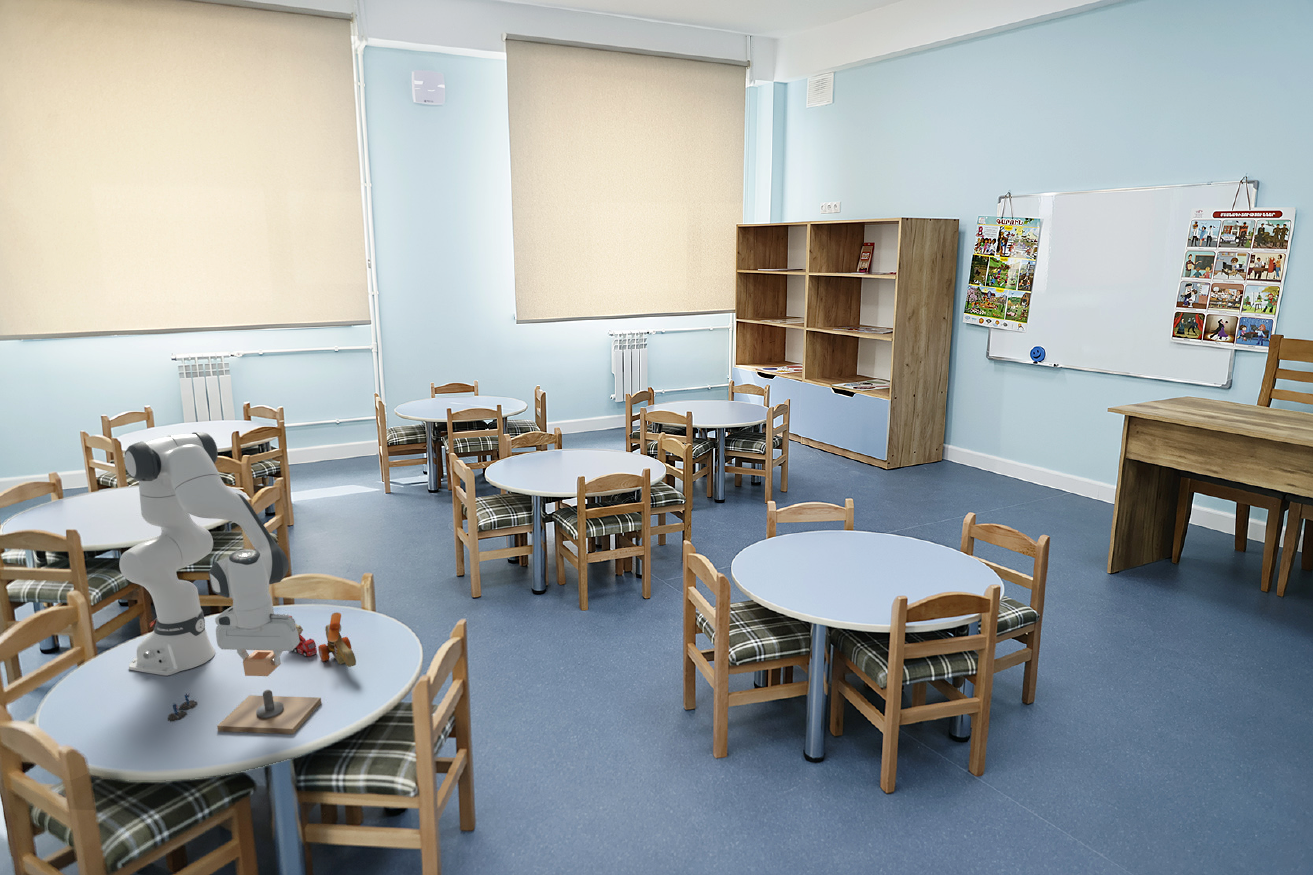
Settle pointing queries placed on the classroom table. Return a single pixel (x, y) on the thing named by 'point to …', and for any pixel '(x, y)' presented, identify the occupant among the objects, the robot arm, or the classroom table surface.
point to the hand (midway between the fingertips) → (262, 663)
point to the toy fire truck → (305, 644)
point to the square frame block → (259, 663)
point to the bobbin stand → (270, 714)
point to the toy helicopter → (337, 643)
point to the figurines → (184, 706)
